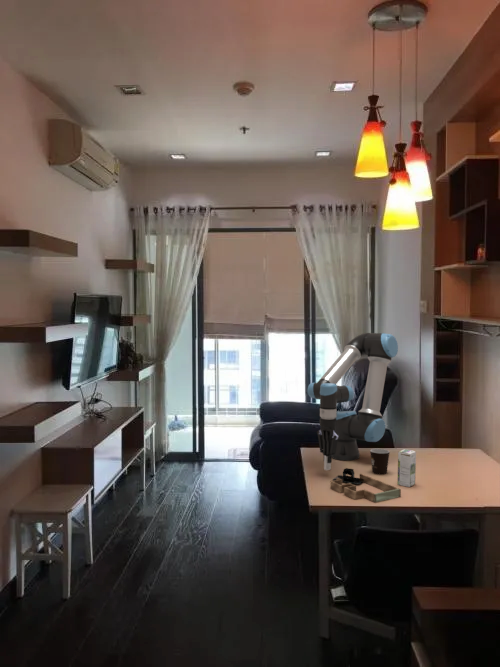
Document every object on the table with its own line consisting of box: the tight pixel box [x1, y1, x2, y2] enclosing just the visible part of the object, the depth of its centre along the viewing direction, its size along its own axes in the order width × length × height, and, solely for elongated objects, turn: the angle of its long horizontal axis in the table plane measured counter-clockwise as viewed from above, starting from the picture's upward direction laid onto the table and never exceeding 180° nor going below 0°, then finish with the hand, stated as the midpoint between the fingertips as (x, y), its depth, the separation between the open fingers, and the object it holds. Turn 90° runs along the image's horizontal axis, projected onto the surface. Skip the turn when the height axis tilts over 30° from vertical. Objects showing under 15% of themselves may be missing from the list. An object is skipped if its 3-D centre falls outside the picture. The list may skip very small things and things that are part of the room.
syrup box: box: [396, 448, 417, 488], centre depth 231 cm, size 6×6×14 cm
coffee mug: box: [369, 448, 390, 475], centre depth 250 cm, size 12×9×10 cm
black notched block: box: [332, 467, 364, 485], centre depth 235 cm, size 12×7×5 cm, turn 57°
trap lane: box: [329, 473, 402, 503], centre depth 222 cm, size 24×18×3 cm
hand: (327, 469), depth 244 cm, fingers closed
